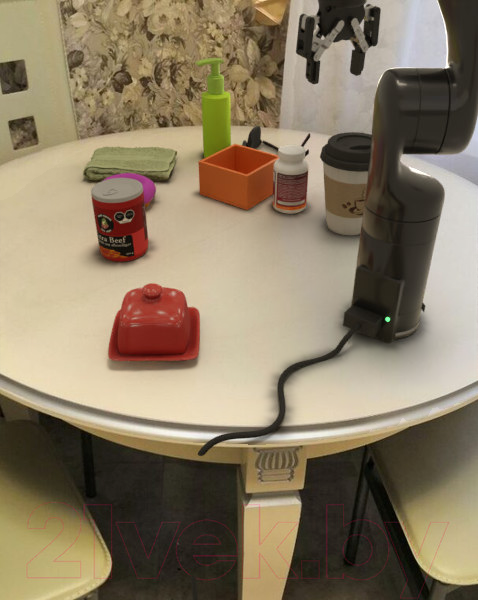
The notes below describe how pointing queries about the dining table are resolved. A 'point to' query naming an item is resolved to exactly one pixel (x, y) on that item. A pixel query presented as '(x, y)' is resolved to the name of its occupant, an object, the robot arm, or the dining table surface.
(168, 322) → the butter dish
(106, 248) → the canned food
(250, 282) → the dining table surface
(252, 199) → the bin
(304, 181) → the pill bottle
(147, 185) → the donut
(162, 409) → the dining table surface
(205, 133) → the soap dispenser
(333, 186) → the coffee cup
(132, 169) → the washcloth
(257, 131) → the sunglasses
